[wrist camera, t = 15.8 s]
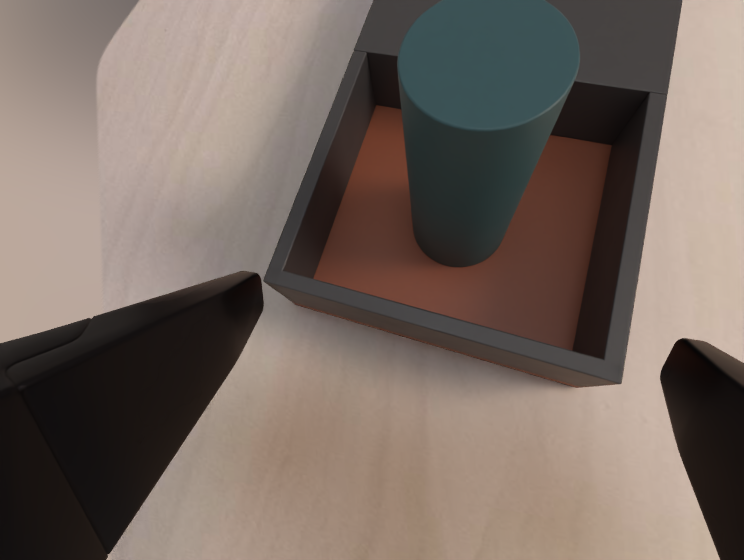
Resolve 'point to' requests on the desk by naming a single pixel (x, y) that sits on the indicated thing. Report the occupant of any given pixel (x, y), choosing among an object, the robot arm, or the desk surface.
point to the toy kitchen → (529, 223)
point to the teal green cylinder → (479, 116)
